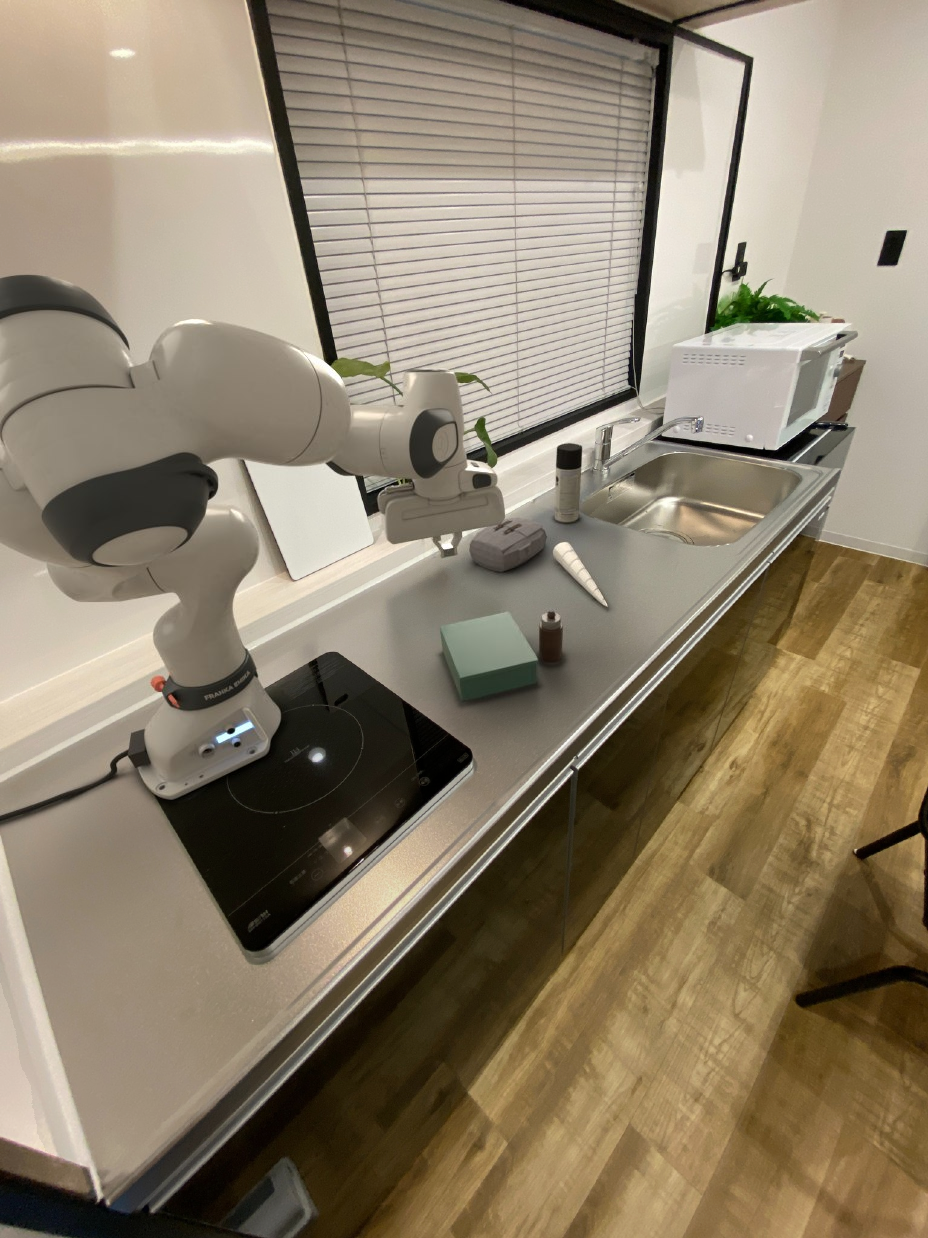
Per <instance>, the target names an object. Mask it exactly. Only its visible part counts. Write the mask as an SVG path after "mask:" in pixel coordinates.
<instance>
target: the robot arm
mask: <svg viewBox="0 0 928 1238" xmlns="http://www.w3.org/2000/svg"><path fill="white" fill-rule="evenodd" d="M462 403H463V402H462V396H461V391H460V387H459V382H458V379H457V376H456V374H455V372H454V371H452V370H450V369H448V368H444V367H441V368H440V367H436V368H435V367H433V368H432V367H431V368H428V367H427V368H426V367H424V368H417V367H416V368H410V369H407V370H406V371H405V372H403V375H402V396H401V399H400V400H399V401H398V402H397V403H396V404H360V403H353V402H351V400H350V396H349V393H348V389H347V386H346V383H345V382H344V380H343V378H342V377H341V376H340V374H338V372H336V371H335V369H334V368H332V367H331V366H330V365H329V364H328V363H327V362H326V361H324V360H323V359H321V358H320V357H319V356H317V355H315V354H313V353H312V352H310V351H308V350H306V349H303V348H301V347H300V346H297V345H295V344H292V343H290V342H287V341H286V340H284V339H281V338H279V337H276V336H273V335H271V334H268V333H265V332H262V331H259V330H257V329H253V328H250V327H245V326H242V325H237V324H233V323H228V322H223V321H218V320H212V319H204V318H189V319H185V320H180V321H178V322H176V323H174V324H171V325H170V326H169V327H167V328H166V329H165V330H164V331H163V332H162V333H161V334H160V335H159V336H158V338H157V339H156V340H155V342H154V344H153V346H152V348H151V351H150V354H149V357H148V361H146V362H143V363H141V364H138V362H137V361H136V358H135V357H134V356H133V354H132V353H131V348H130V344H129V341H128V339H127V337H126V335H125V333H124V332H123V330H122V329H121V327H120V325H118V323H117V322H116V320H115V319H114V317H113V316H112V315H111V313H109V312H108V310H107V309H106V308H105V307H104V306H103V305H102V303H100V302H99V300H98V299H97V298H95V296H94V295H92V294H91V293H90V292H89V291H88V290H87V291H86V290H85V289H83V288H82V287H80V286H78V285H76V284H74V283H72V282H69V281H67V280H64V279H60V278H57V277H52V276H48V275H39V274H16V275H7V276H3V277H0V544H2V545H4V546H5V547H7V548H9V549H11V550H13V551H16V552H18V553H19V554H22V555H24V556H27V557H29V558H31V559H33V560H36V561H39V562H42V563H45V565H46V570H47V571H48V576H49V577H50V580H51V581H52V582H53V584H54V585H55V587H57V589H58V590H59V591H60V592H62V593H63V594H64V595H65V596H66V597H68V598H70V599H72V600H73V601H75V602H78V603H113V602H114V603H117V602H119V603H121V602H125V601H133V600H137V599H143V598H147V597H149V598H150V597H154V596H158V595H164V594H171V593H172V594H175V595H176V596H177V597H178V599H179V601H178V602H177V603H175V604H174V605H173V606H171V607H170V608H169V609H167V610H166V611H165V612H164V613H163V614H162V615H161V616H160V617H159V618H158V620H157V621H156V622H155V625H154V627H153V632H152V641H153V645H154V647H155V649H156V651H157V653H158V655H159V657H160V658H161V661H162V662H163V664H164V666H165V669H166V670H167V672H168V676H167V679H166V678H165V677H164V676H162V675H155V676H154V677H152V678H151V681H150V686H151V687H152V688H153V689H154V691H155V692H157V693H161V694H162V696H163V698H164V700H165V701H163V703H161V705H160V706H159V708H158V710H157V711H156V712H155V714H154V715H153V716H152V717H151V718H150V720H149V721H148V723H146V724H145V725H146V726H145V728H143V729H139V730H136V731H133V732H130V737H129V744H128V748H127V749H126V750H123V751H122V752H121V753H119V754H117V755H116V756H114V757H113V759H112V760H111V761H110V763H109V767H110V771H109V772H108V773H107V774H106V775H105V776H104V777H102V778H100V779H99V780H97V781H95V782H92V783H89V784H87V785H84V786H81V787H78V788H74V789H71V790H68V791H65V792H62V793H60V794H57V795H55V796H53V797H49V798H47V799H44V800H42V801H40V802H37V803H33V804H30V805H28V806H25V807H21V808H19V809H15V810H13V811H9V812H7V813H4V814H1V815H0V822H3V821H6V820H9V819H12V818H15V817H18V816H21V815H25V814H27V813H30V812H33V811H36V810H39V809H41V808H45V807H47V806H49V805H51V804H54V803H56V802H57V803H58V802H59V801H62V800H65V799H67V798H70V797H73V796H77V795H80V794H83V793H85V792H87V791H90V790H92V789H94V788H96V787H98V786H100V785H102V784H104V783H106V782H108V781H109V780H111V779H112V778H113V777H114V776H115V775H116V774H117V772H118V765H117V764H118V762H119V761H121V760H122V759H124V758H126V757H128V759H129V760H130V763H132V765H133V766H134V768H135V769H137V770H138V773H139V774H140V777H141V779H142V782H143V783H144V785H145V786H146V787H147V789H148V790H149V791H150V792H151V793H153V794H154V796H157V797H159V798H162V799H165V800H170V801H171V800H175V799H178V798H180V797H182V796H184V795H187V794H188V793H191V792H192V791H195V790H197V789H200V788H201V787H203V786H205V785H208V784H209V783H211V782H213V781H216V780H217V779H220V778H222V777H224V776H226V775H228V774H230V773H232V772H234V771H237V770H238V769H241V768H243V767H244V766H246V765H249V764H251V763H253V762H254V761H257V760H259V759H261V758H263V757H265V756H266V755H267V754H268V753H269V751H270V749H271V748H270V747H271V742H272V741H271V740H272V738H273V736H274V735H275V734H276V732H277V730H278V728H279V726H280V723H281V720H282V713H281V709H280V707H279V705H278V704H277V703H276V702H275V701H274V700H272V698H271V697H270V695H269V694H268V693H267V691H266V690H265V688H264V687H263V685H262V683H261V681H260V680H259V674H258V671H257V666H256V663H255V661H254V659H253V656H252V654H251V653H250V651H249V650H248V648H246V647H245V645H244V643H243V641H242V638H241V635H240V633H239V629H238V626H237V623H236V619H235V616H234V615H235V614H234V602H235V601H234V600H235V596H236V592H237V591H238V590H237V589H238V588H239V586H240V584H241V583H242V581H244V580H245V578H246V576H248V575H249V574H250V573H251V572H252V570H253V569H254V567H256V564H257V562H258V559H259V555H260V549H261V543H260V537H259V533H258V530H257V528H256V525H255V523H254V522H253V521H252V519H251V518H250V517H249V516H248V515H247V513H245V512H244V511H243V510H242V509H240V508H239V507H238V506H236V505H234V504H222V503H209V501H211V500H212V499H213V498H214V497H215V496H216V494H217V493H218V490H219V476H218V474H217V472H216V471H215V470H214V469H213V468H212V467H211V466H209V464H212V463H214V462H217V461H221V460H226V459H229V460H230V459H231V460H243V461H247V462H252V463H257V464H264V465H269V466H275V467H276V466H278V467H287V468H294V467H296V468H301V467H302V468H303V467H311V466H312V467H313V466H318V465H323V464H325V465H326V466H327V467H328V468H329V469H330V470H332V471H333V472H335V473H336V474H337V475H340V476H344V477H361V476H362V477H363V476H364V477H377V478H378V477H379V478H393V479H403V480H404V479H407V480H412V482H406V483H401V484H398V485H389V486H388V485H387V486H386V487H384V489H383V490H381V491H380V492H379V493H378V495H377V497H376V500H377V506H378V511H379V512H380V513H381V514H382V520H383V531H384V535H385V538H386V540H387V541H388V542H389V543H390V544H392V545H397V544H398V545H399V544H404V543H409V542H414V541H415V542H416V541H419V540H424V539H425V540H426V539H431V542H432V543H433V544H434V545H435V546H436V548H437V549H438V556H439V558H440V559H445V558H450V557H455V556H458V547H459V545H460V543H461V541H462V539H463V532H467V531H473V530H477V529H485V528H487V527H489V526H494V525H500V524H501V523H502V522H503V520H505V519H506V510H505V509H506V508H505V502H504V495H503V493H502V489H500V487H498V482H499V481H498V479H499V478H498V475H497V472H496V471H495V470H494V469H493V468H492V467H491V466H490V465H489V464H487V463H486V462H484V461H479V460H472V459H468V458H467V452H466V449H465V447H464V433H465V419H464V418H465V417H464V408H463V404H462ZM451 534H452V539H451V541H450V543H449V542H448V543H445V544H444V543H443V544H442V543H441V542H442V536H447V535H451Z"/></svg>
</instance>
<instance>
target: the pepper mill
mask: <svg viewBox="0 0 928 1238" xmlns="http://www.w3.org/2000/svg"><path fill="white" fill-rule="evenodd" d="M538 630H539V631H538V657H539V659H540V660H541V661H542V662H544V663H548V664H550V663H551V664H553V663H557V662H560V661H561V660H562V657H563V638H564V636H563V634H564V624H563V622H562V617H561V614H559V613H558V612H555V611H553V610H549V611H547V612H545V613H543V614H542V615H541V621H540V622H539V624H538Z"/></svg>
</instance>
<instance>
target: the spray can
mask: <svg viewBox="0 0 928 1238" xmlns="http://www.w3.org/2000/svg"><path fill="white" fill-rule="evenodd" d="M582 459H583V445H581V444H579V443H578V444H577V443H572V442H566V443H561V444H559V445H557V447H556V457H555V480H554V481H555V482H554V483H555V485H554V520H555V521H556V522H558V523H563V524H569V523H573V522H576V521H577V520H578V519H579V517H580V516H579V515H580V500H581V499H580V498H581V497H580V496H581V479H582V466H583V460H582Z"/></svg>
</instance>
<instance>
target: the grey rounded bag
mask: <svg viewBox="0 0 928 1238" xmlns="http://www.w3.org/2000/svg"><path fill="white" fill-rule="evenodd" d="M547 538H548V536H547V533H546V530H545V528H544V526H543V525H542V524H539V523H538V522H536V521H534V520H532V519H529V518H523V517H513V518H511V517H510V518H505V519H504V520H503V522H502V523H501V524H500V525H494V526H489V527H484V528H482V530H480V531H478V532H476V534H475V536H474V537H473V538H472V539H471V541H470V543H469V549H468V551H469V554H470V557H471V559H472V560H473V561H474V562H475V563H476V564H478V566H481V567H482V568H485V569H487V570H490V571H494V572H501V573H503V572H505V571H509V570H512V569H514V568H516V567H519V566H521V565H523V564H525V563H527V562H528V561H529V560H531V559H532V558H533V557H534V556H536V555H537V554H538V553H540V551H542V550H543V549H544V548H545V546H546V541H547Z"/></svg>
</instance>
